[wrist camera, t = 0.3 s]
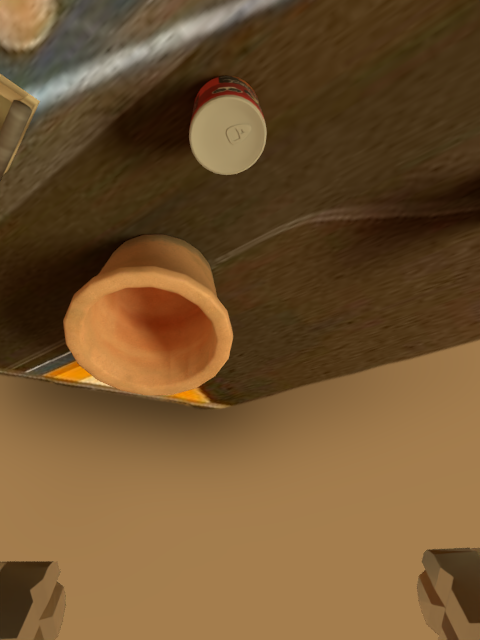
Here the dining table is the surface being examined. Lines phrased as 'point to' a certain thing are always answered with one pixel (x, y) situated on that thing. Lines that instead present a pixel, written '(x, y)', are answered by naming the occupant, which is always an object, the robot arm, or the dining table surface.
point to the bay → (19, 96)
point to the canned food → (227, 126)
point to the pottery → (150, 319)
